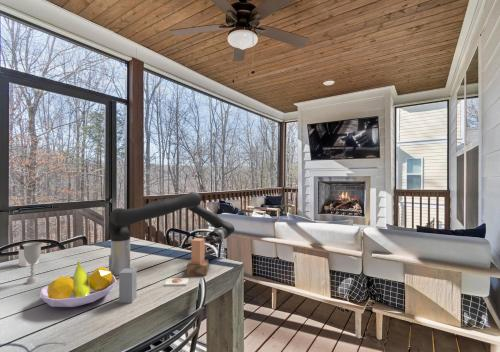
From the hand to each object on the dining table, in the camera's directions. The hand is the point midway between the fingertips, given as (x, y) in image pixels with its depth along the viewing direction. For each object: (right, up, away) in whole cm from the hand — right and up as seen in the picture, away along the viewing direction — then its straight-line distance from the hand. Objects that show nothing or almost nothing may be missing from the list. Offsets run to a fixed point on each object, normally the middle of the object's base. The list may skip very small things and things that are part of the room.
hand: (203, 242), depth 148 cm
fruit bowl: (-44, -14, -36) cm, 59 cm away
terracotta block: (-2, -9, -6) cm, 11 cm away
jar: (-100, -14, +6) cm, 101 cm away
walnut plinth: (-2, -14, -6) cm, 15 cm away
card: (-9, -14, -20) cm, 26 cm away
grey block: (-24, -14, -38) cm, 47 cm away
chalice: (-78, -14, -20) cm, 81 cm away
